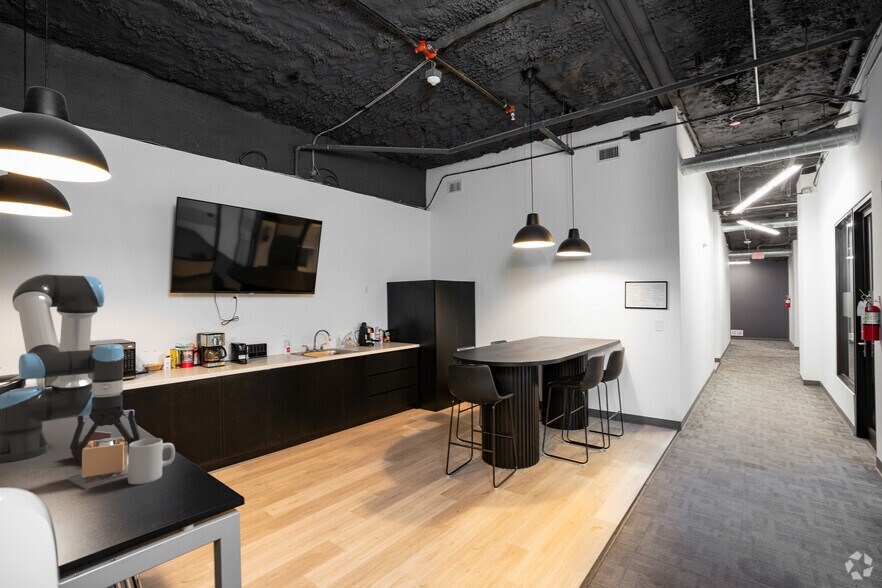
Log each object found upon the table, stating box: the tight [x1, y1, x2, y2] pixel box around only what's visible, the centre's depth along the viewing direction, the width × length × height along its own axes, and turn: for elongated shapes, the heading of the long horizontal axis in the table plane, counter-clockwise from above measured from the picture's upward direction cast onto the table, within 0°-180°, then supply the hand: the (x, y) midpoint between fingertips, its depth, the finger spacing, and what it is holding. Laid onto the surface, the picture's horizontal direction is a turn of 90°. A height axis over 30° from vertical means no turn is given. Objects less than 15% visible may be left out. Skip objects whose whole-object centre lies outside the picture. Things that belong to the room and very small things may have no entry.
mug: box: [127, 437, 176, 485], centre depth 129 cm, size 12×8×11 cm
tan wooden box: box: [81, 436, 127, 477], centre depth 129 cm, size 10×10×8 cm
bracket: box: [70, 430, 112, 459], centre depth 144 cm, size 6×17×10 cm, turn 74°
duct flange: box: [68, 437, 128, 490], centre depth 129 cm, size 12×14×11 cm
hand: (105, 468), depth 129 cm, fingers closed on tan wooden box, 9 cm apart
